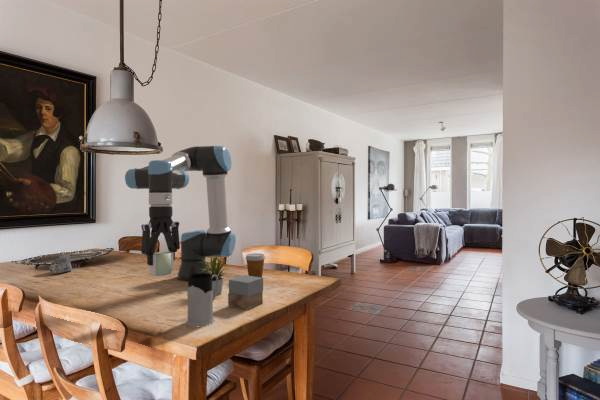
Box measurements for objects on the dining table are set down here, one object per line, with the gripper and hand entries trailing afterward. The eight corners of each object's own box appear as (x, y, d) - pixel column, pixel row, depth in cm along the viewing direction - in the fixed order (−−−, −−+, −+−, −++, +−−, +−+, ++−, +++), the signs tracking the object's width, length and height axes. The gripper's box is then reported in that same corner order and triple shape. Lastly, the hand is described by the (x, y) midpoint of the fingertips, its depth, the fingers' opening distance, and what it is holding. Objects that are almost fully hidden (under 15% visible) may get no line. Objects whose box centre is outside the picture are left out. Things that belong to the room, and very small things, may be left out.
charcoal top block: (228, 293, 132) (228, 279, 132) (244, 287, 140) (244, 275, 140) (247, 296, 128) (247, 282, 128) (263, 291, 136) (263, 277, 135)
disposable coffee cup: (266, 277, 179) (266, 253, 179) (263, 281, 169) (262, 256, 169) (248, 276, 180) (248, 253, 180) (243, 281, 170) (243, 256, 170)
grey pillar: (180, 325, 113) (179, 277, 113) (207, 311, 126) (207, 269, 126) (203, 328, 110) (203, 280, 110) (228, 314, 123) (228, 270, 123)
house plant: (193, 291, 153) (193, 252, 153) (226, 287, 159) (225, 250, 159) (198, 299, 140) (197, 258, 140) (233, 295, 146) (233, 255, 145)
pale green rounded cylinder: (147, 274, 123) (147, 254, 123) (163, 270, 128) (163, 251, 128) (159, 276, 119) (159, 255, 119) (175, 272, 125) (175, 252, 125)
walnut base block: (228, 307, 132) (228, 293, 132) (244, 300, 140) (244, 288, 140) (247, 311, 127) (246, 297, 127) (262, 304, 135) (262, 291, 135)
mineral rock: (51, 276, 182) (51, 256, 181) (41, 274, 187) (41, 255, 187) (78, 271, 193) (78, 253, 192) (67, 269, 198) (67, 251, 198)
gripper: (142, 207, 113) (143, 279, 114) (190, 204, 129) (191, 268, 130) (127, 206, 117) (129, 276, 118) (176, 204, 133) (177, 266, 134)
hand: (161, 272), depth 124 cm, fingers closed on pale green rounded cylinder, 6 cm apart
